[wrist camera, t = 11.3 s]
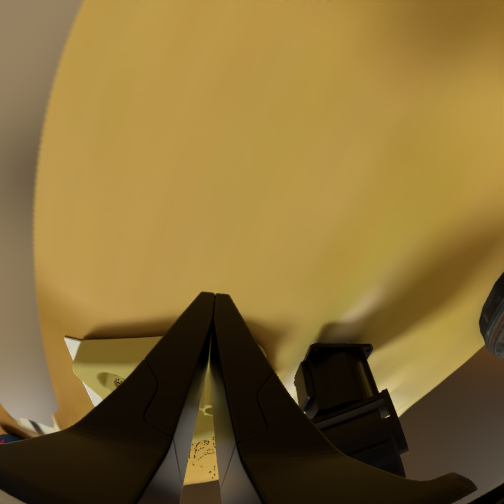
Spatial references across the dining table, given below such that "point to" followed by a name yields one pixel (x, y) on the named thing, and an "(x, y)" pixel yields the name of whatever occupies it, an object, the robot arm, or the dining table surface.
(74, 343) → the strip
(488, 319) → the beer stein
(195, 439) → the plastic component
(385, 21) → the dining table surface
